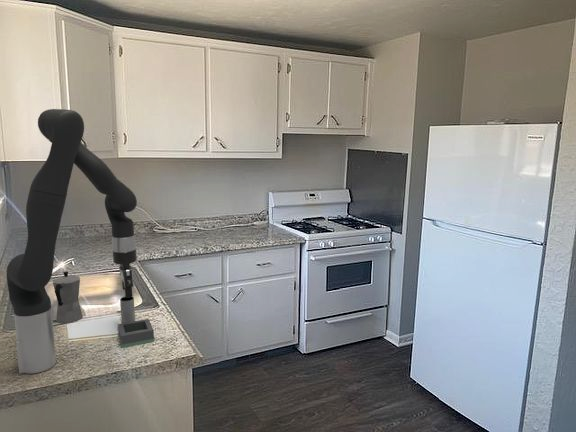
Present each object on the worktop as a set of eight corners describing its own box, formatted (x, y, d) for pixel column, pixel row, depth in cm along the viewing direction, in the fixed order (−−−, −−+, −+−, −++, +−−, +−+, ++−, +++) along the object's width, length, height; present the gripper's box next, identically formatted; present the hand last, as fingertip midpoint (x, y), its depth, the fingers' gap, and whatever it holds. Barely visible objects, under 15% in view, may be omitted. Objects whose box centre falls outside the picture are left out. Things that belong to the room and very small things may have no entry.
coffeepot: (63, 311, 164) (59, 266, 161) (89, 311, 165) (85, 265, 162) (45, 329, 149) (40, 279, 146) (73, 328, 150) (69, 279, 147)
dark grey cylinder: (119, 325, 153) (117, 298, 151) (131, 322, 156) (130, 295, 154) (125, 329, 149) (123, 301, 148) (137, 326, 153) (136, 298, 151)
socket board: (121, 347, 137) (121, 336, 136) (118, 335, 146) (117, 323, 145) (154, 341, 141) (153, 330, 141) (148, 329, 150) (148, 318, 149)
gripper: (110, 244, 152) (114, 288, 155) (114, 255, 139) (118, 302, 143) (132, 242, 155) (135, 285, 158) (138, 252, 143) (141, 298, 146)
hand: (127, 293), depth 150 cm, fingers open, 8 cm apart
